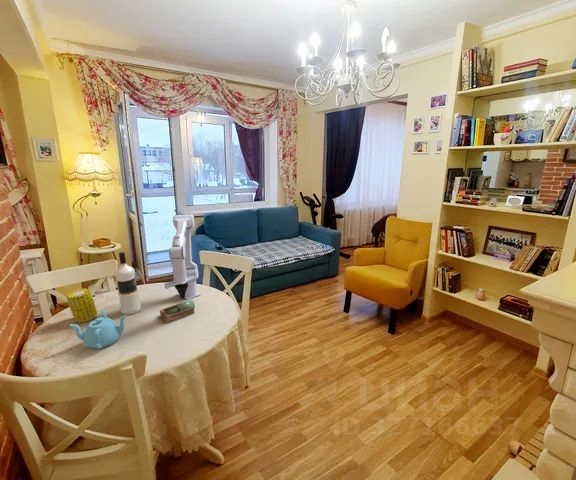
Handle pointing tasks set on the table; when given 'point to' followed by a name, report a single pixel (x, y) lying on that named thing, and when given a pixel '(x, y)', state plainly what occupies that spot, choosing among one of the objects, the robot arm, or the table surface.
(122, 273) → the vodka
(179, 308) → the green bottle
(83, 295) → the food
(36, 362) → the table surface
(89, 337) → the teapot
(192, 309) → the u rest
